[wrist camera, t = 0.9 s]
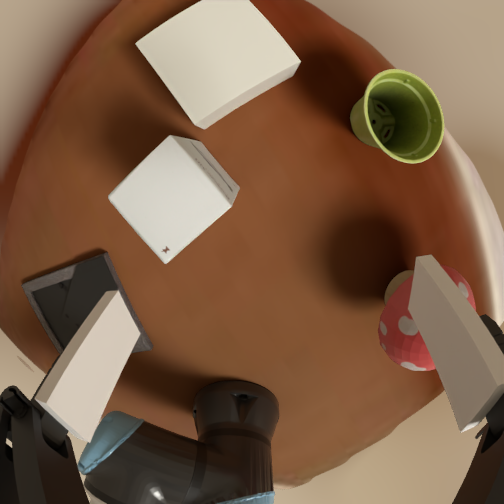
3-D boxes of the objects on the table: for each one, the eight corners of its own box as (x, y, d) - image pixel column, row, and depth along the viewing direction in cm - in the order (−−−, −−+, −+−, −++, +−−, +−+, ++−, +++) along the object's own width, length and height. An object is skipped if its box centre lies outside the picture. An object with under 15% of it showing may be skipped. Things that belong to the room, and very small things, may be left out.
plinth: (204, 129, 30) (194, 124, 24) (153, 58, 26) (135, 43, 21) (292, 76, 27) (301, 61, 22) (236, 8, 24) (233, -16, 18)
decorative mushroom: (440, 295, 37) (494, 349, 23) (372, 339, 39) (409, 409, 25) (422, 224, 33) (494, 266, 19) (342, 273, 35) (387, 343, 21)
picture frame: (109, 250, 35) (26, 281, 37) (102, 255, 33) (19, 286, 35) (154, 344, 40) (66, 354, 42) (150, 351, 38) (62, 360, 40)
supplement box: (242, 187, 32) (235, 209, 20) (193, 226, 33) (163, 268, 21) (201, 139, 30) (170, 131, 18) (155, 180, 31) (104, 198, 20)
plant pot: (357, 71, 27) (388, 50, 18) (415, 116, 28) (455, 111, 20) (322, 130, 29) (346, 123, 21) (384, 173, 31) (421, 182, 23)
